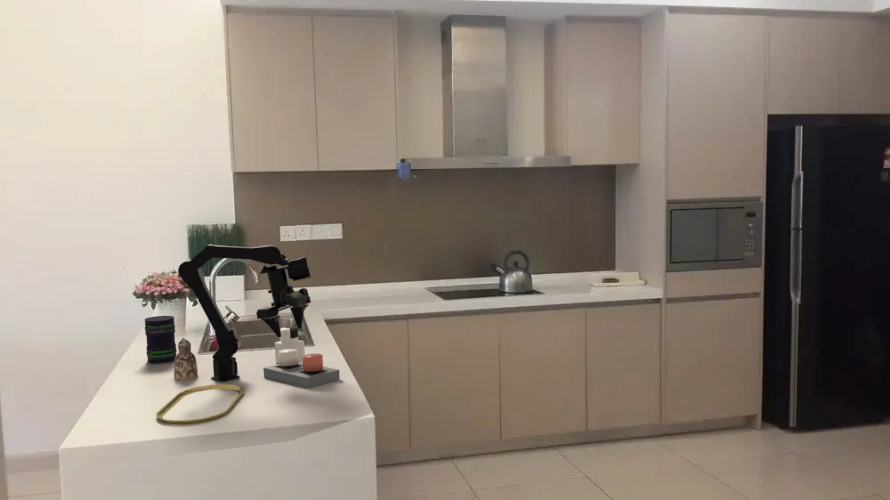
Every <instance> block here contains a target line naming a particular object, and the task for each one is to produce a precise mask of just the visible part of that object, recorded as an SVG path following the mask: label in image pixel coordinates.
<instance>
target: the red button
mask: <svg viewBox="0 0 890 500" xmlns="http://www.w3.org/2000/svg"><path fill="white" fill-rule="evenodd" d="M302 359H303V370H304V371H319V370H322V369H323V366H324V360H323V354H321V353H308V354H305V355H304V356H302Z"/></svg>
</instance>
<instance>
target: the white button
mask: <svg viewBox="0 0 890 500" xmlns="http://www.w3.org/2000/svg"><path fill="white" fill-rule="evenodd" d="M278 354H279V365H281V366H292V365H296V364H298V363H299V361H298V350H297V349H284V350H280V351H278Z"/></svg>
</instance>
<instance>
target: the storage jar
mask: <svg viewBox="0 0 890 500" xmlns="http://www.w3.org/2000/svg"><path fill="white" fill-rule="evenodd" d="M144 326H145V327H144V331H145V336H146V347H145V348H146V358H147V363H148V364H151V365H152V364H153V365H159V364H160V365H161V364H168V363H169V364H170V363H172V362H175V357H176V355H177V352H178V350H177V344H176V338H175V335H176V334H175V333H176V324H175V316H173V315H156V316H150V317H145V318H144Z"/></svg>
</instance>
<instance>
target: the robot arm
mask: <svg viewBox="0 0 890 500" xmlns="http://www.w3.org/2000/svg"><path fill="white" fill-rule="evenodd" d="M213 258H214V259H230V260H231V259H232V260H233V259H234V260H235V259H236V260H250V261H254V262H258V263H260V264H261V263H262V264H264V265H263V266H262V267H263V268H262V269H261V271H259V274H260V275H263V274H266V275H267V280H268V284H269V289H268V290H267V291H268V292H267V293H268V294H271V298H272V302H270V304H271V306H264V307H262V308H258V309H257V310H256V318H257V320H260V321H263V322H264V323H265V324H266V325H267V326H269V328H270V330H271V331H272V332H273V333H274V334H275V336H277V338H280V337H281V331H280V329H281V328H280V327H281V326H280V317H281V315H279V313H280V312H281V311H283V310H287V309H290V311H291V314H292V316H293V317H292V318H293V319H294V322H295V324H296V326H297V327H296V328H298V330H299V329H302V327H303V320H304V319H303V318H304V312H305V310H306V309H307V308H308V307H309V304H311V303H312V301H311V297H310V295H309V291H308V288H306V287H303V288H299V290H294V287H293V286H292V285H289V284H290V283H289V280H293V282H298V281H303V280H306V279H311V278H312V273H311V267H310V265H309V262H308V260H307V257H306V256H303V257H300V258H296V259H292V260H291V259H289V258H288V257H287V256H285V254H283V251H282V249H281V247H280V246H279V245H277V244H266V245H259V246H252V247H251V246H239V245H238V246H234V245H233V246H231V245H219V244H213V243H212V244H210V243H209V244H208V245H206V246H204V248H203V249H202V250H201V251H200V252H198V253H197V254H196V255H195V256H194V257H192V258H191V259H187V260H185V261H183V262H181V264H180V265H179V266H178V269H177V273H178V276H179V277H180V279H181V280H182V281H183V282H184V283H185V285H186V286H188V287H189V289H190V290H191V291H192V292H193V293H194V295H195V297H196V299H197V301H198V302H199V305H200V306H201V309H202V310H203V312H204V314H205V315H206V318H207V319H208V322H209V323H210V325H211V327H212V329H213V331H214V335H215V339H216V343H217V347H218V348H217V349H216V350H215V352H214V353H213V354H212V364H213V365H212V369H213V376H211V377H210V379H211V380H213V381H219V382H226V381H231V380H233V379H237V378H238V379H239V378H240V375H238V374H239V372H238V369H239V368H238V361H237V357H234V356H235V355H236V353H237V352H238V350H239V349H240V346H241V343H242V341H241V338H242V336H241V335H240V334H239V333H238V330H237V327H236V325H235V326H233V327H231V326H229V324H228V323H227V322H226V320H225V318H224V316H223V314H222V312H221V311H220V308H219V307H218V305H217V303H216V301H215V299H214V298H213V296H212V294H211V292H210V289H208V286H207V284H206V281H205V275H204V273H203V269H202V268H203V267H204V266H206V264H207V263H209V261H211V260H212V259H213ZM267 265H270V266H267ZM278 266H280V267H278ZM288 279H289V280H288Z"/></svg>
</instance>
